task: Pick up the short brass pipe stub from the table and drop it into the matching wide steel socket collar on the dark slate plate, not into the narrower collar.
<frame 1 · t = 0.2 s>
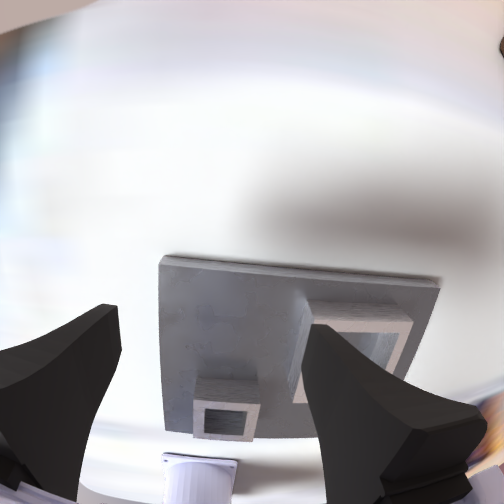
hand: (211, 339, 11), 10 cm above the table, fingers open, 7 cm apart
socket plate: (292, 363, 24), on the table
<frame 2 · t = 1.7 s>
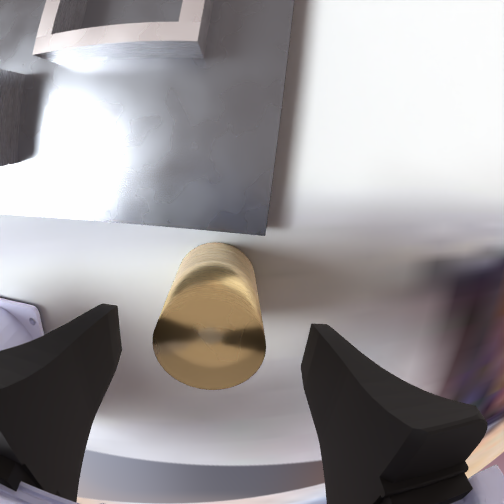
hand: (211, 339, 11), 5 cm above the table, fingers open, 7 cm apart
pipe stub: (216, 279, 16), on the table
socket plate: (83, 60, 12), on the table
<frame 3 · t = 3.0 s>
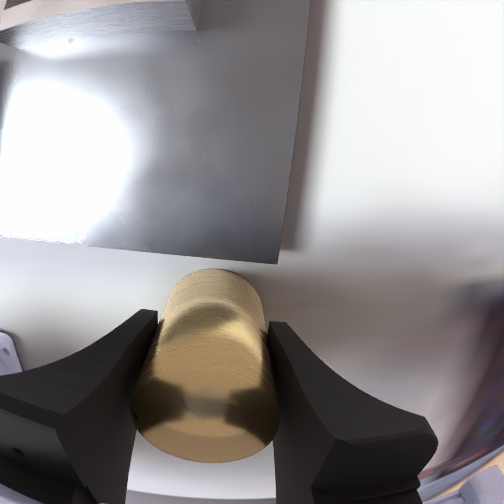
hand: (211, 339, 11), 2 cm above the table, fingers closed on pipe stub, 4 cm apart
pipe stub: (214, 313, 13), on the table, touching gripper
socket plate: (51, 43, 9), on the table
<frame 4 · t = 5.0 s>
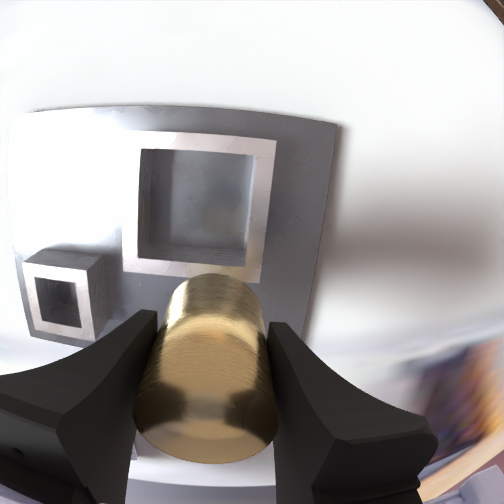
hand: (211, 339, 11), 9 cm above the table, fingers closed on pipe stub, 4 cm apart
pipe stub: (214, 316, 13), point 7 cm above the table, touching gripper
socket plate: (150, 239, 19), on the table
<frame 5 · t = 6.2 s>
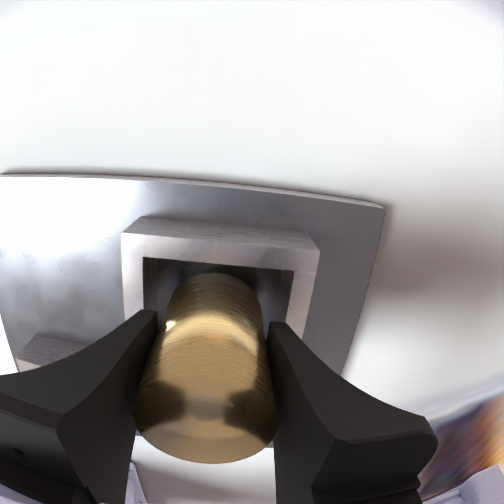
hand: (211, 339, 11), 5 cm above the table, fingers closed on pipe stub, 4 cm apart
pipe stub: (214, 316, 13), point 3 cm above the table, touching gripper
socket plate: (158, 329, 16), on the table
when the fingers open (5 cm above the table, at t = 7.2 s): pipe stub drops 1 cm, resting on socket plate.
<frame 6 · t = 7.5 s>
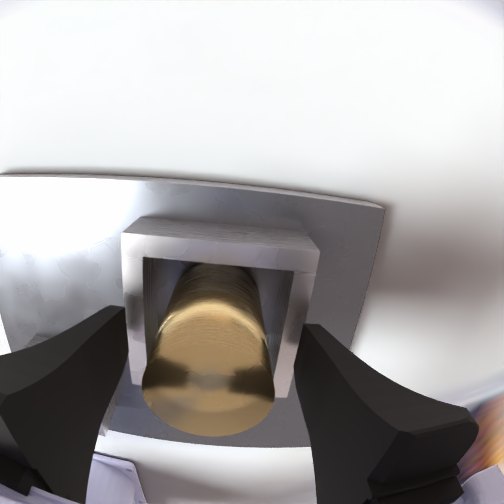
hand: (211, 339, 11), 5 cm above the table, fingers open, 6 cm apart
pipe stub: (215, 303, 14), point 2 cm above the table, touching socket plate
socket plate: (158, 329, 16), on the table
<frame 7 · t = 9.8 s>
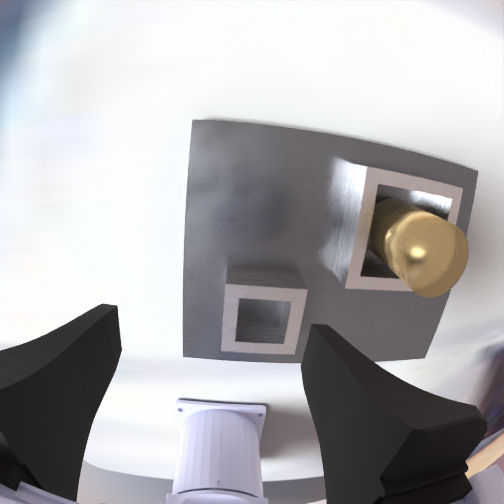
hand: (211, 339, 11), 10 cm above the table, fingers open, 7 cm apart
pipe stub: (390, 228, 20), point 2 cm above the table, touching socket plate
socket plate: (334, 257, 22), on the table
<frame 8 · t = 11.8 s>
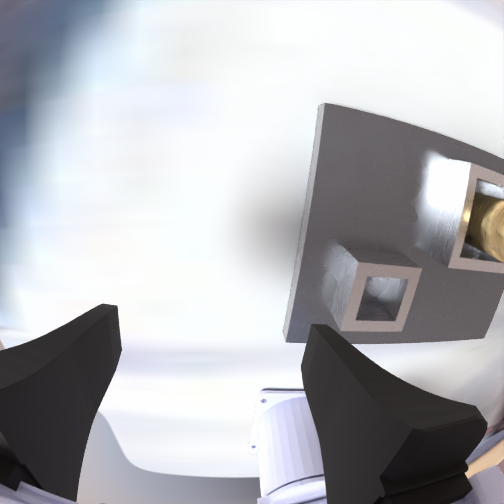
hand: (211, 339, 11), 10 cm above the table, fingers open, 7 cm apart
pipe stub: (473, 218, 20), point 2 cm above the table, touching socket plate
socket plate: (425, 242, 22), on the table
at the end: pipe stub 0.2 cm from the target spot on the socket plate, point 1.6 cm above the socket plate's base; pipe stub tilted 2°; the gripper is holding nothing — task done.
